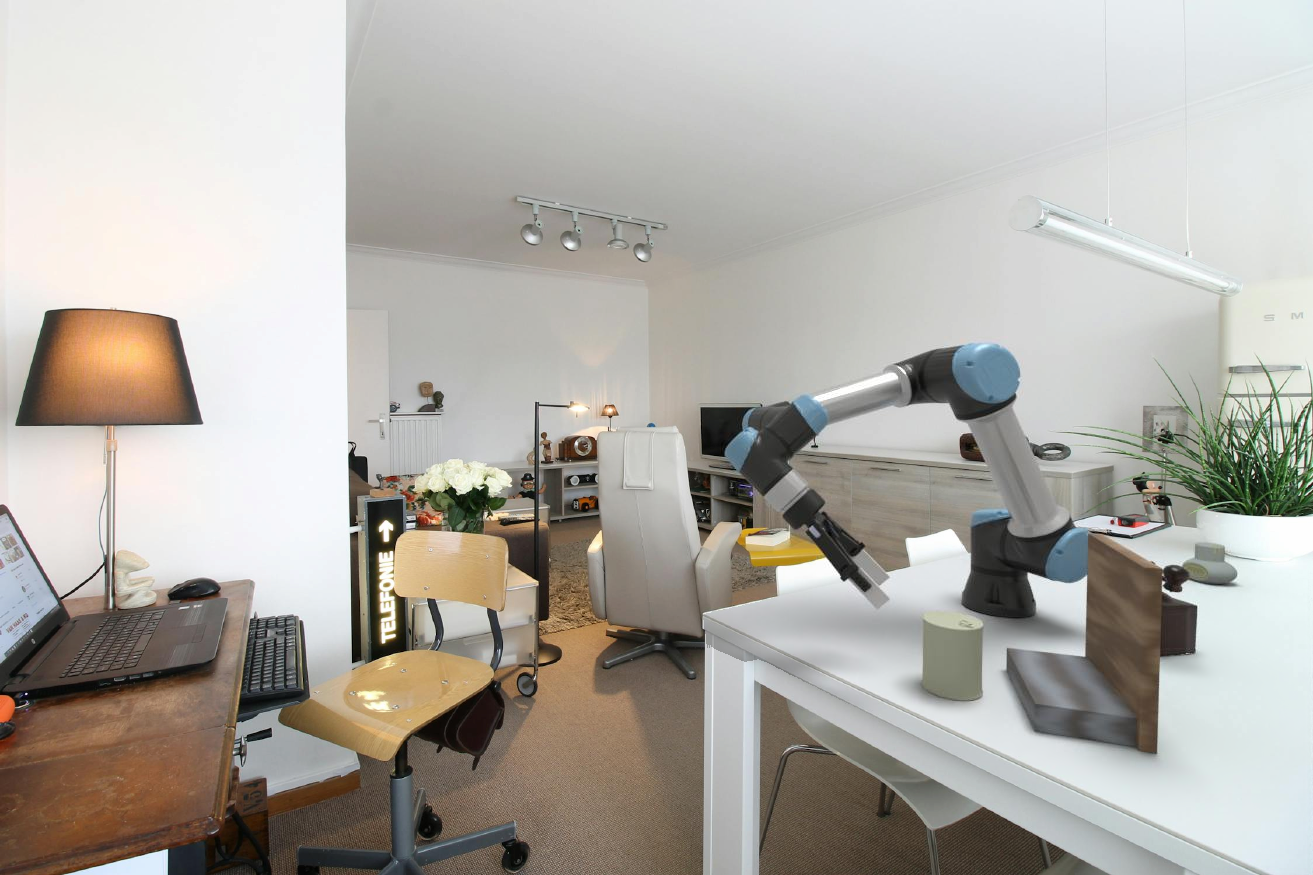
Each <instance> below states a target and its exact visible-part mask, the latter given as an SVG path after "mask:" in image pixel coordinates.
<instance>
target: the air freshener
mask: <svg viewBox="0 0 1313 875" xmlns="http://www.w3.org/2000/svg"><path fill="white" fill-rule="evenodd" d="M1225 554H1226V547H1225V546H1224V544H1220V543H1214V542H1205V541H1202V542H1200V541H1199V542H1196V543H1195V544H1194V557H1192V558H1189V559H1187V560H1185V561H1184V562H1183V563H1182V565H1181V567H1183V568H1185V569H1186V570H1187V571H1188V572H1189V574H1190V578H1189V579H1192V580H1194V582H1198V583H1203V584H1208V583H1209V584H1208V585H1210V584H1211V585H1224V584H1228V583H1230V582H1231V583H1232V582H1233V581H1234V580H1236V579H1237V577H1238V570H1237V569H1236V567H1234V565H1233V564H1230V563H1229V562H1227V561H1225V560H1226V558H1225V557H1226V556H1225Z"/></svg>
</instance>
